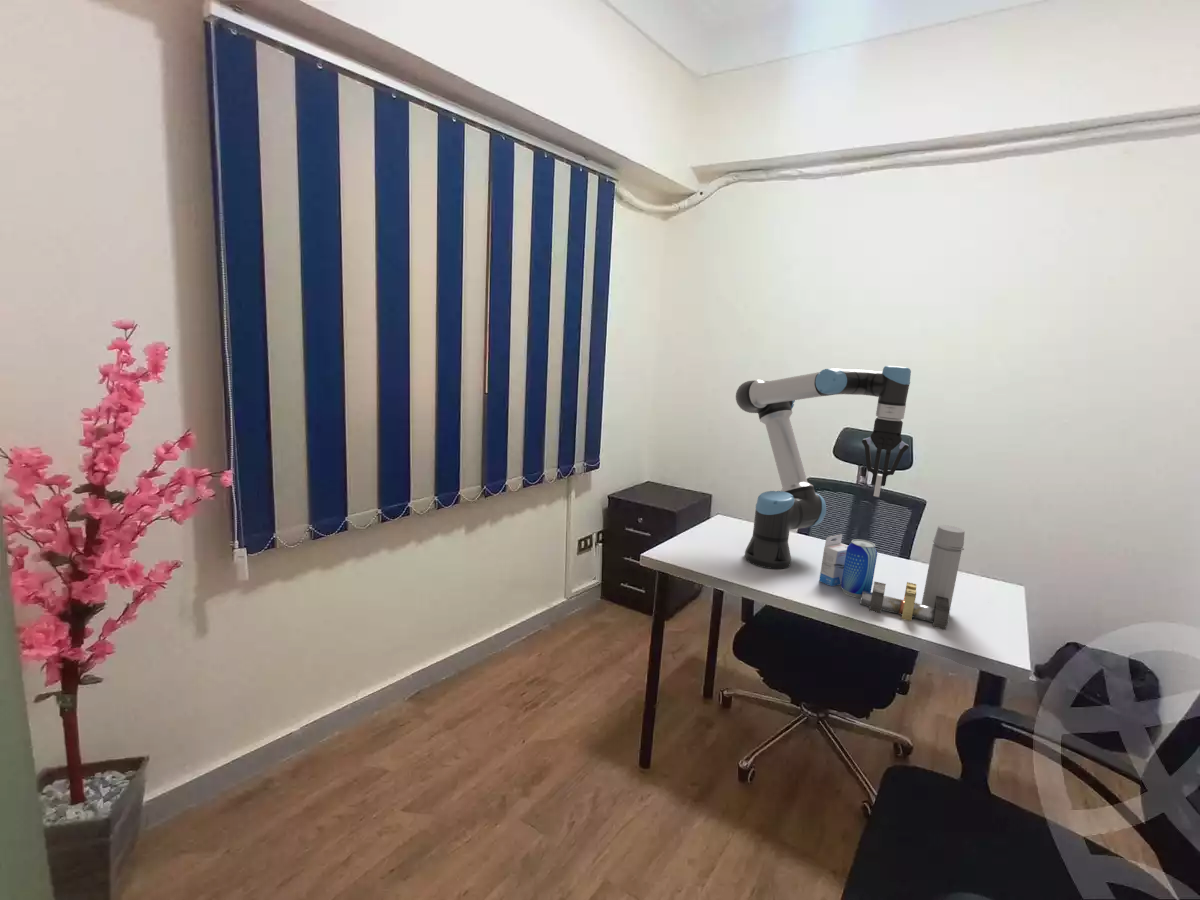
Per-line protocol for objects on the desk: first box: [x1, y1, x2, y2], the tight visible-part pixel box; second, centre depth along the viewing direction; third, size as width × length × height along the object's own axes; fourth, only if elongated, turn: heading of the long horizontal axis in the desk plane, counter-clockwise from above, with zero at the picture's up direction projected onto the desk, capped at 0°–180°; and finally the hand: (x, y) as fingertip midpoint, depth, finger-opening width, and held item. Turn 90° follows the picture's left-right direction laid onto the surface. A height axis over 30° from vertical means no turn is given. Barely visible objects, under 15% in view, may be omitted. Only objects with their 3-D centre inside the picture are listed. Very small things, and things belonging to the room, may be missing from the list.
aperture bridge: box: [901, 581, 917, 622], centre depth 168 cm, size 2×8×8 cm, turn 152°
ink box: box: [818, 533, 848, 587], centre depth 187 cm, size 8×5×15 cm, turn 124°
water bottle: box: [921, 524, 965, 612], centre depth 170 cm, size 9×8×25 cm
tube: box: [860, 591, 950, 627], centre depth 168 cm, size 22×4×4 cm, turn 62°
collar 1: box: [869, 581, 887, 614], centre depth 172 cm, size 3×8×6 cm, turn 152°
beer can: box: [840, 538, 878, 599], centre depth 180 cm, size 8×8×16 cm
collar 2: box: [932, 596, 951, 631], centre depth 165 cm, size 3×8×6 cm, turn 152°
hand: (876, 495), depth 181 cm, fingers closed
